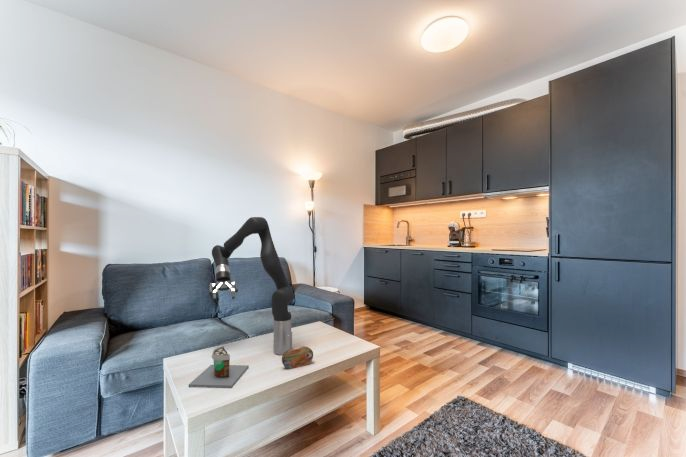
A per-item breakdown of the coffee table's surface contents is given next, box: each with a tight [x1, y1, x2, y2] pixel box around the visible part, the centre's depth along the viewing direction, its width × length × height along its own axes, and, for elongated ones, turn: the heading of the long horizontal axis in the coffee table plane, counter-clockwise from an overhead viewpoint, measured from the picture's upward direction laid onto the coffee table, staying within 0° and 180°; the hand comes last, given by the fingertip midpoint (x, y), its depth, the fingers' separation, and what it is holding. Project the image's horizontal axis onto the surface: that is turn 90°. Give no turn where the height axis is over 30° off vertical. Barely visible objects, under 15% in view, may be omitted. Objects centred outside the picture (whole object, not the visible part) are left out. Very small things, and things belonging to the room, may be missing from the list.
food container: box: [211, 345, 231, 378], centre depth 126 cm, size 12×6×10 cm, turn 33°
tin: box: [281, 345, 314, 370], centre depth 137 cm, size 15×3×8 cm, turn 117°
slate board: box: [188, 364, 249, 389], centre depth 126 cm, size 18×18×1 cm
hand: (224, 299), depth 150 cm, fingers open, 8 cm apart
